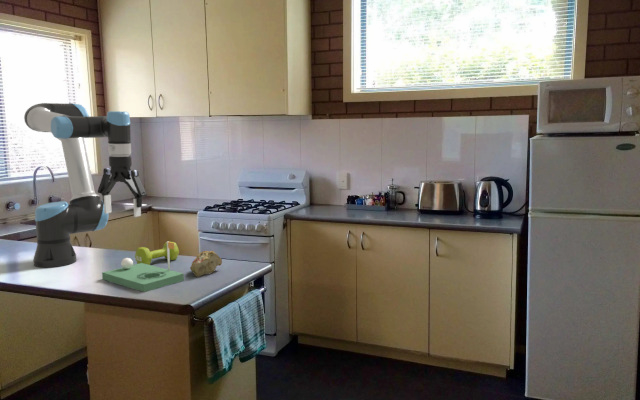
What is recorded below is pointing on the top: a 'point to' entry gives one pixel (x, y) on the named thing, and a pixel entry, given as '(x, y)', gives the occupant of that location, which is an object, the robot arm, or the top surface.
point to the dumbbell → (155, 254)
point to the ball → (127, 263)
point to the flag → (171, 246)
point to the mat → (143, 277)
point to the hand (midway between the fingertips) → (122, 214)
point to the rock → (205, 263)
